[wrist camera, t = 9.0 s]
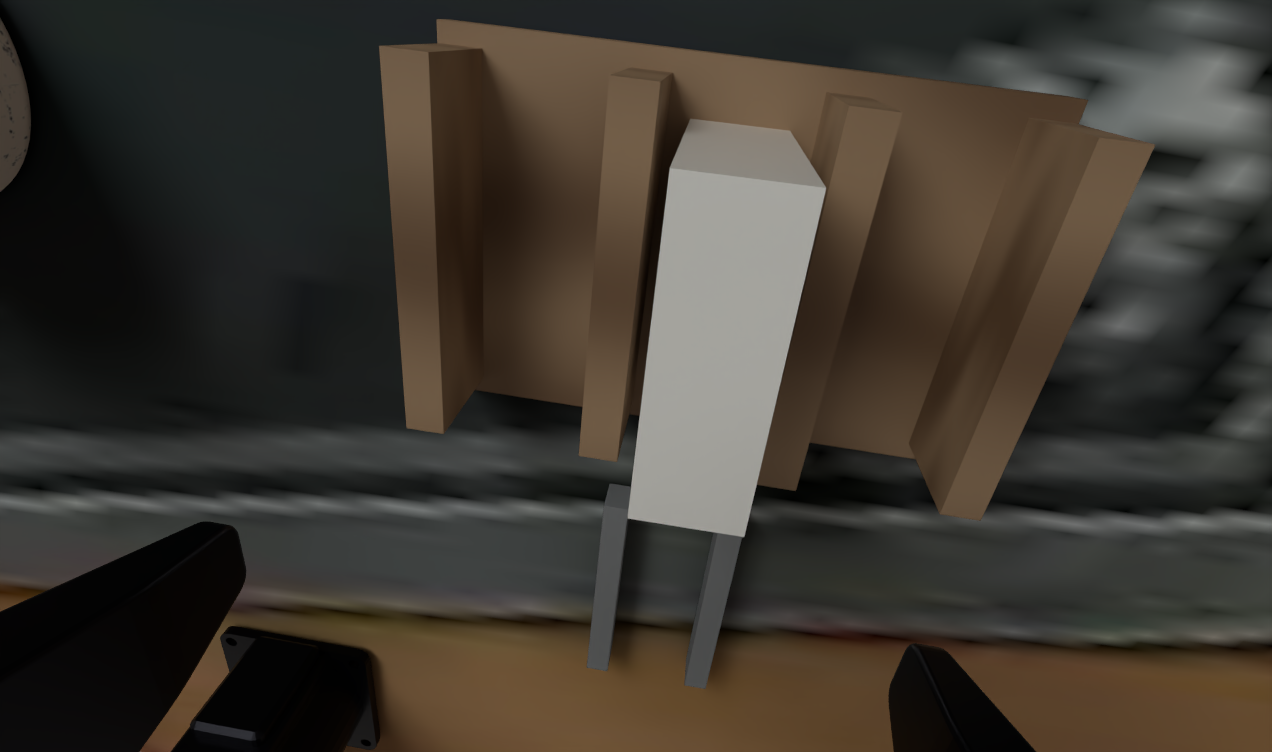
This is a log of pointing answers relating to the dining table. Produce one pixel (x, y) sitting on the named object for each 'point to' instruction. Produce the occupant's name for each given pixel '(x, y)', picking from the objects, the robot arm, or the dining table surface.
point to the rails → (609, 584)
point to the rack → (839, 262)
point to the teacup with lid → (12, 111)
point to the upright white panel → (721, 321)
